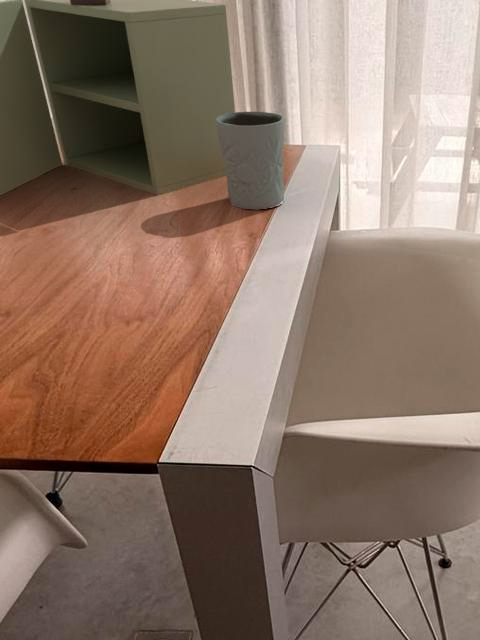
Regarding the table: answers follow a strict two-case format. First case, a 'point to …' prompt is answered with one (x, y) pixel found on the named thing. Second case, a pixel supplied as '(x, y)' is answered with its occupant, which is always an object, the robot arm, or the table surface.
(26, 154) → the cupboard door
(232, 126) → the grey green cup
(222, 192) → the table surface
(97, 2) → the walnut block
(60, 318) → the table surface
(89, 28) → the cupboard
